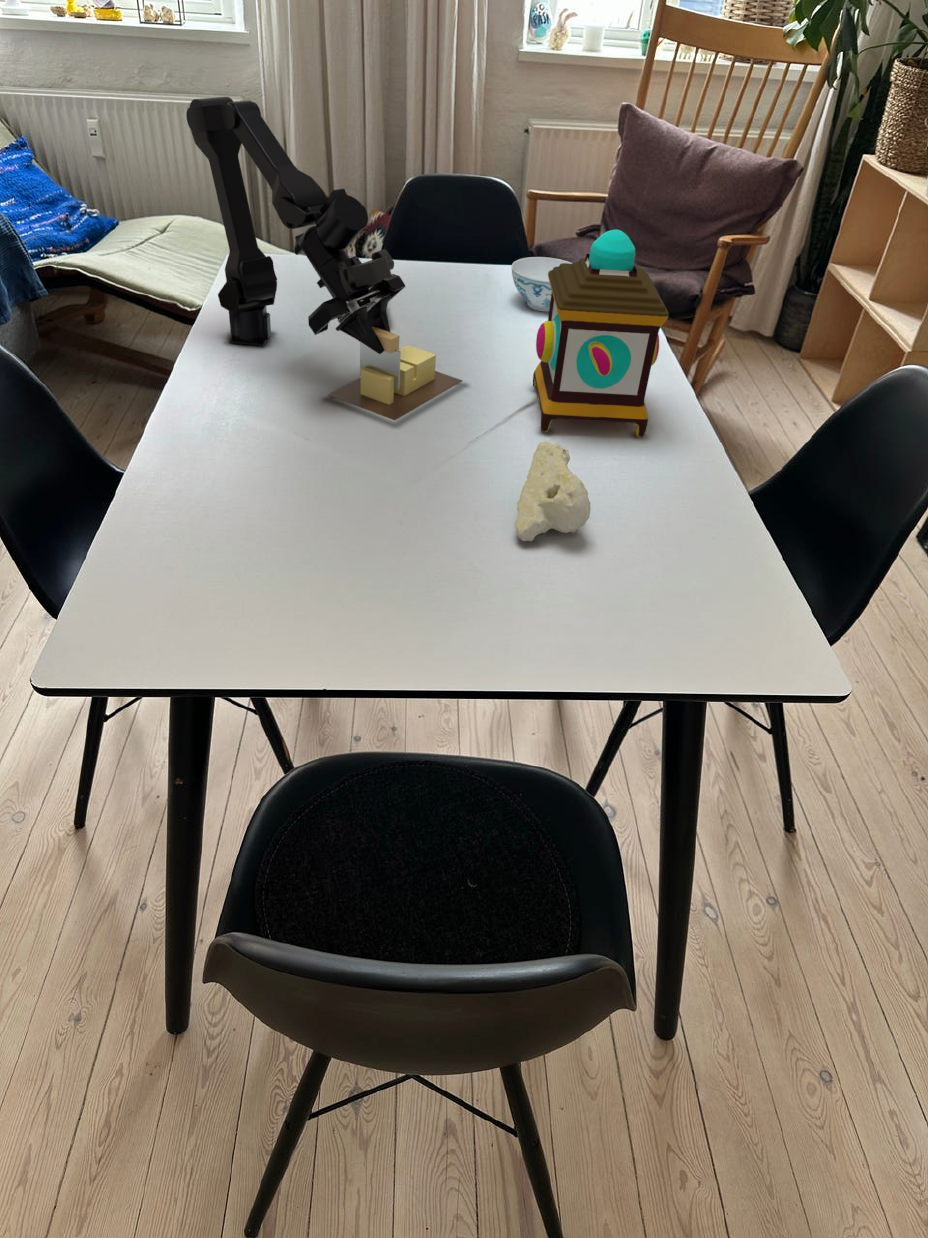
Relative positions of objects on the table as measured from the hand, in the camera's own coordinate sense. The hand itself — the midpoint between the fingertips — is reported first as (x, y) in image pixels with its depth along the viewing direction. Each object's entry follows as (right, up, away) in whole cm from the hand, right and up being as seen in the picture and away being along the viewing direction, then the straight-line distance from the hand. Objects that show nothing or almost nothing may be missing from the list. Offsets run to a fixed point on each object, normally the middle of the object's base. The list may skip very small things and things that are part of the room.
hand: (386, 350), depth 148 cm
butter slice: (-2, -6, +5) cm, 9 cm away
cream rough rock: (+23, -29, -17) cm, 41 cm away
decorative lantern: (+33, -8, +9) cm, 35 cm away
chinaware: (+29, +23, +47) cm, 60 cm away
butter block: (+2, -2, +11) cm, 11 cm away
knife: (-2, -4, +4) cm, 6 cm away
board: (+1, -4, +10) cm, 11 cm away
